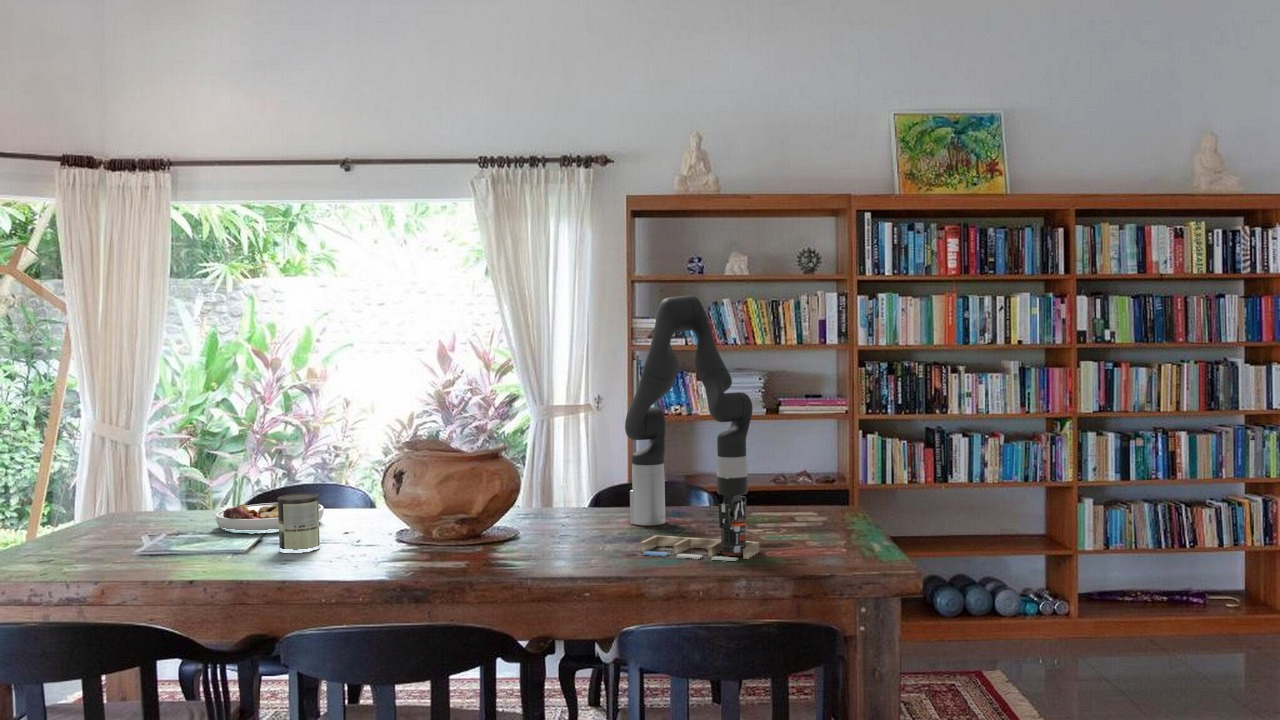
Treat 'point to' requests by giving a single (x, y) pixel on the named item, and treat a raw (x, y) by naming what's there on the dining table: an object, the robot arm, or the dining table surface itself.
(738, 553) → the supplement bottle
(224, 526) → the bowl
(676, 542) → the divider rack
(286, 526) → the coffee can
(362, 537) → the dining table surface
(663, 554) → the bezel tiles
